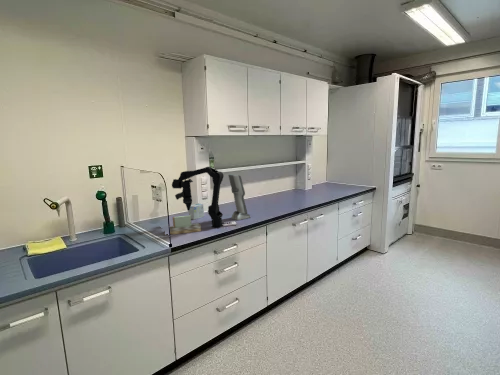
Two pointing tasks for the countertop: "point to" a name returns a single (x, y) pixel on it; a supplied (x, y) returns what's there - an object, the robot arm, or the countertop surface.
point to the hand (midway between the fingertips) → (188, 209)
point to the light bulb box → (196, 211)
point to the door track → (185, 229)
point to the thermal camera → (238, 197)
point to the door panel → (182, 221)
